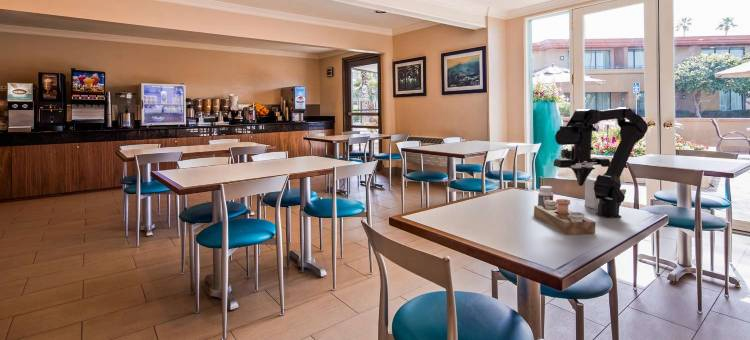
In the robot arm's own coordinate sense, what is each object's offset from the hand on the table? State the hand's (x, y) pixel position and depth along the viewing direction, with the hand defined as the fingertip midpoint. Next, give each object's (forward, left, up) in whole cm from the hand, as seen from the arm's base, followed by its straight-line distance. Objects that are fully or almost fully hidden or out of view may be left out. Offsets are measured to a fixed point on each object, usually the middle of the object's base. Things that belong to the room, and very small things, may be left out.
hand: (580, 185), depth 154 cm
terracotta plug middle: (+9, +5, -10) cm, 14 cm away
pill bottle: (+6, -15, -13) cm, 21 cm away
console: (+9, +5, -13) cm, 17 cm away
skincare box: (-16, -18, -13) cm, 27 cm away
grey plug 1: (+9, -5, -13) cm, 16 cm away
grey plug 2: (+9, +15, -13) cm, 21 cm away
